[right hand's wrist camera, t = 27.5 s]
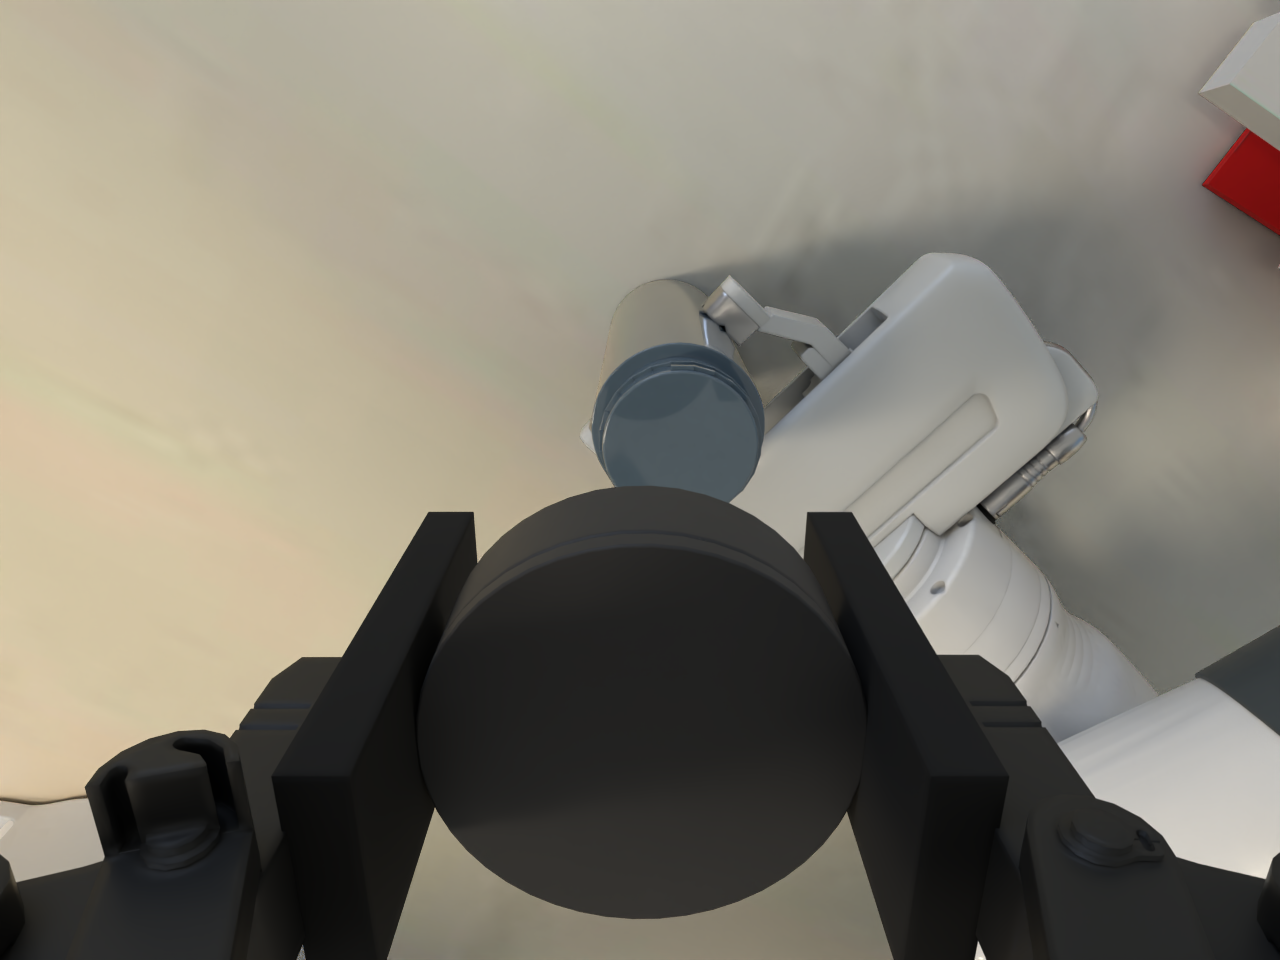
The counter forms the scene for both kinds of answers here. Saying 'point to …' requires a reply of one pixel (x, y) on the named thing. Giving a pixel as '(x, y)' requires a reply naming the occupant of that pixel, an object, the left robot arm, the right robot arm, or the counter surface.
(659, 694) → the lid
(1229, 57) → the toy
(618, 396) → the jar
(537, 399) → the counter surface
